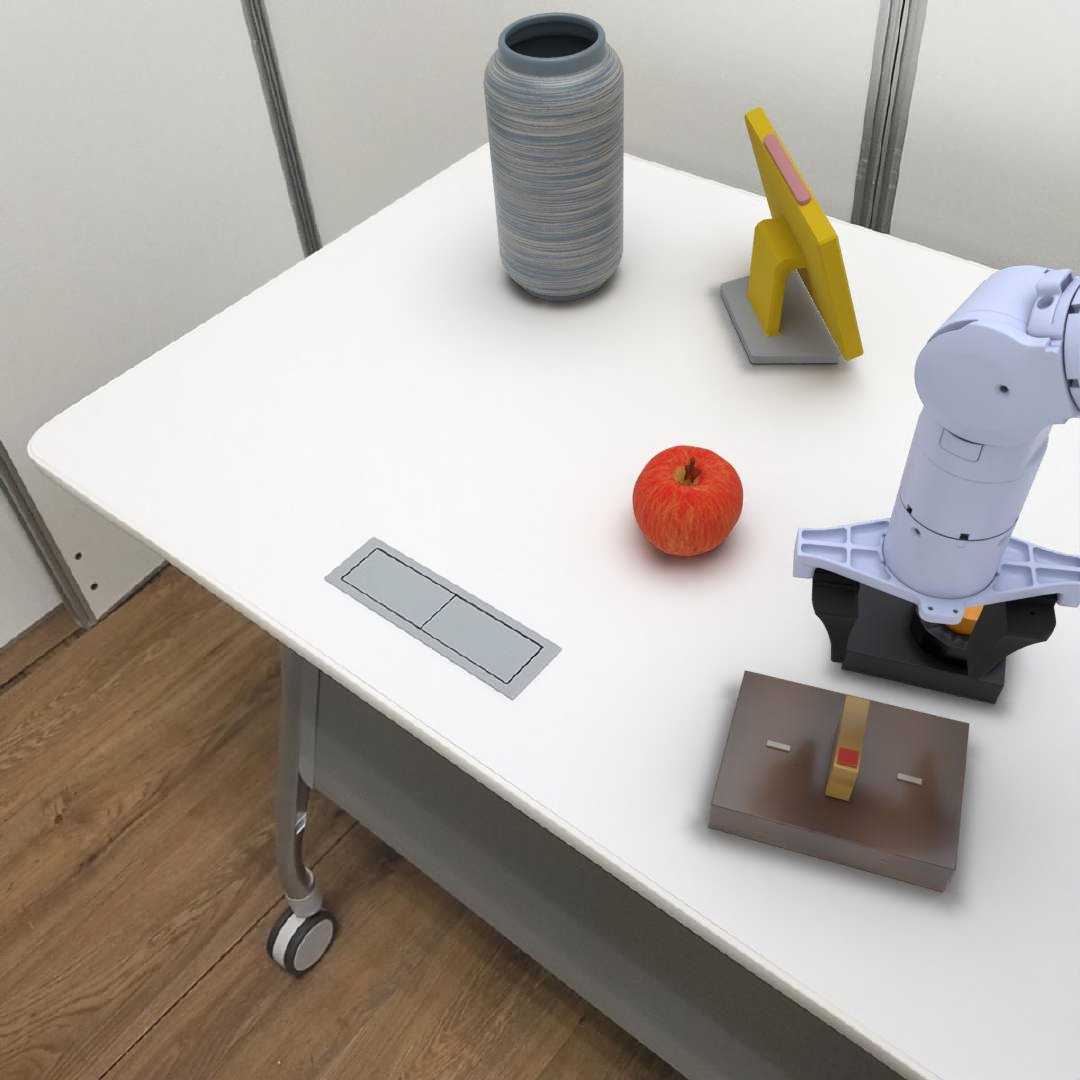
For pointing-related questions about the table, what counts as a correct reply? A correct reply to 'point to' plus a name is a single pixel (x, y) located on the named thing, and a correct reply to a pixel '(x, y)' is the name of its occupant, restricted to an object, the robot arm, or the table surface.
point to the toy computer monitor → (791, 269)
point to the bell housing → (914, 649)
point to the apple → (687, 500)
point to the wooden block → (847, 748)
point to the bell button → (967, 621)
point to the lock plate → (879, 791)
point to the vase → (557, 153)
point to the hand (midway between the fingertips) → (904, 656)
